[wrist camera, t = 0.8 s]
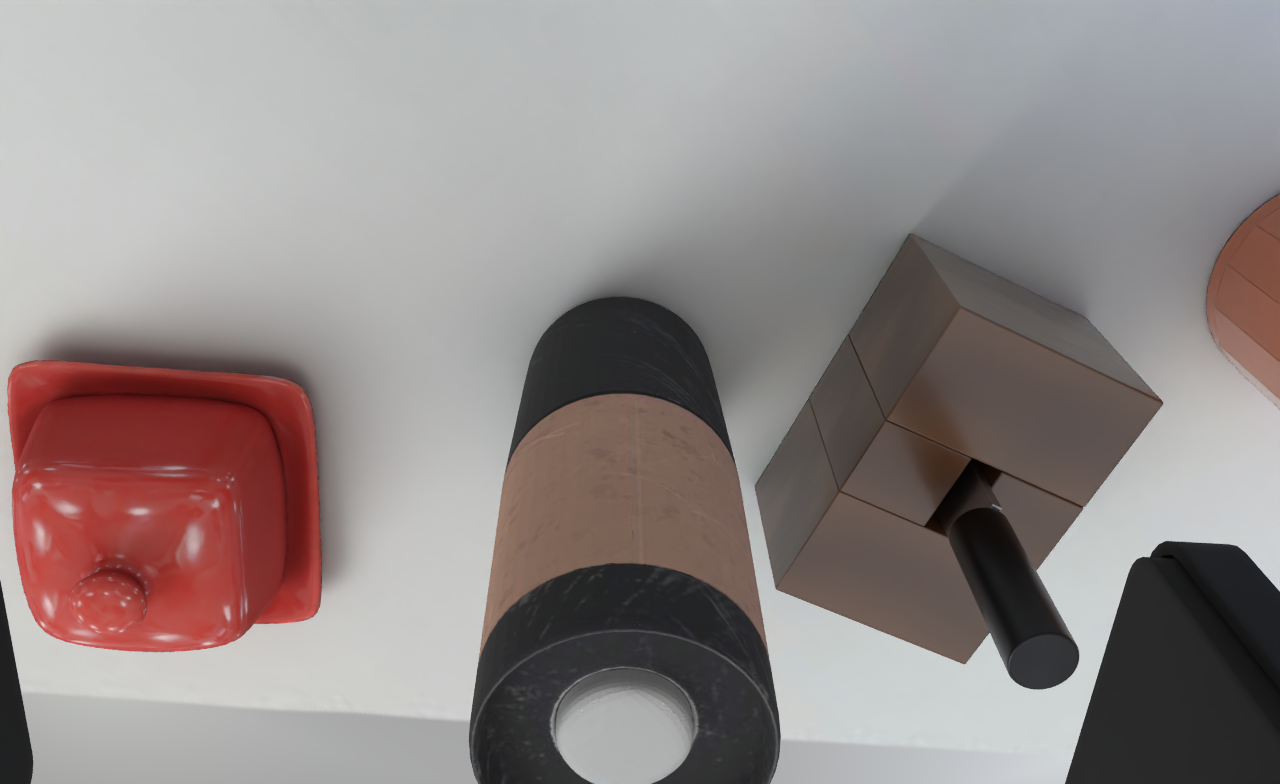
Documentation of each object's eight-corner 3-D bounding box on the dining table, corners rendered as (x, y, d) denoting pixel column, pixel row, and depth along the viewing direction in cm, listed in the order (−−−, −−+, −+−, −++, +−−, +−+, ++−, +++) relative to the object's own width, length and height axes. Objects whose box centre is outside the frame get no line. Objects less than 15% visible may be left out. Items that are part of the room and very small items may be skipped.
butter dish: (322, 365, 45) (264, 480, 38) (329, 608, 50) (279, 753, 43) (14, 341, 45) (-109, 453, 37) (52, 591, 50) (-49, 734, 42)
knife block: (909, 232, 43) (960, 305, 37) (1088, 319, 45) (1165, 402, 39) (753, 486, 48) (775, 589, 42) (921, 556, 50) (965, 665, 44)
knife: (909, 373, 46) (1036, 620, 32) (952, 393, 46) (1097, 645, 33) (879, 418, 47) (991, 678, 33) (922, 437, 47) (1051, 702, 33)
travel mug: (683, 262, 44) (734, 583, 26) (742, 434, 47) (822, 824, 29) (490, 324, 45) (410, 676, 27) (561, 488, 48) (531, 899, 30)
